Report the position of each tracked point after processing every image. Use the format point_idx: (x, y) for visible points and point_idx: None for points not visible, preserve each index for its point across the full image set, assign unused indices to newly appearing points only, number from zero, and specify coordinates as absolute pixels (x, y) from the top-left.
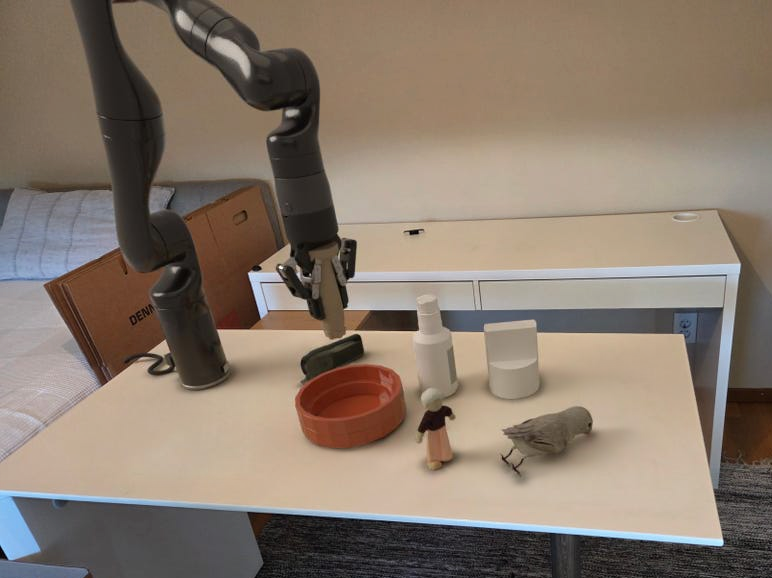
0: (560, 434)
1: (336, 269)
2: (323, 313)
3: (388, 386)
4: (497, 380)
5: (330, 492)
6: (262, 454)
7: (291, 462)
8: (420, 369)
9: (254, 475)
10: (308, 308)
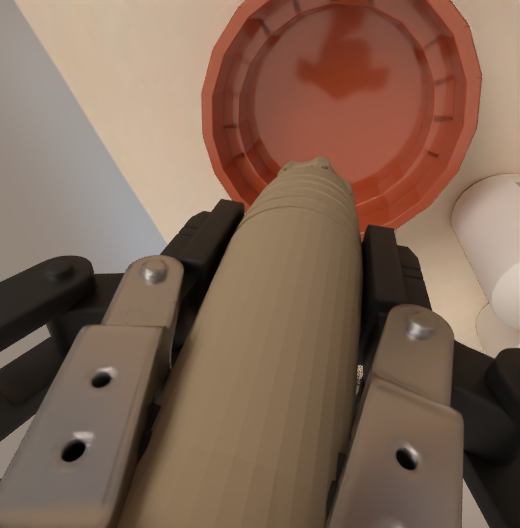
0: None
1: None
2: None
3: (424, 158)
4: (490, 336)
5: (172, 207)
6: (153, 6)
7: (175, 94)
8: (475, 231)
9: (115, 56)
10: (179, 231)
